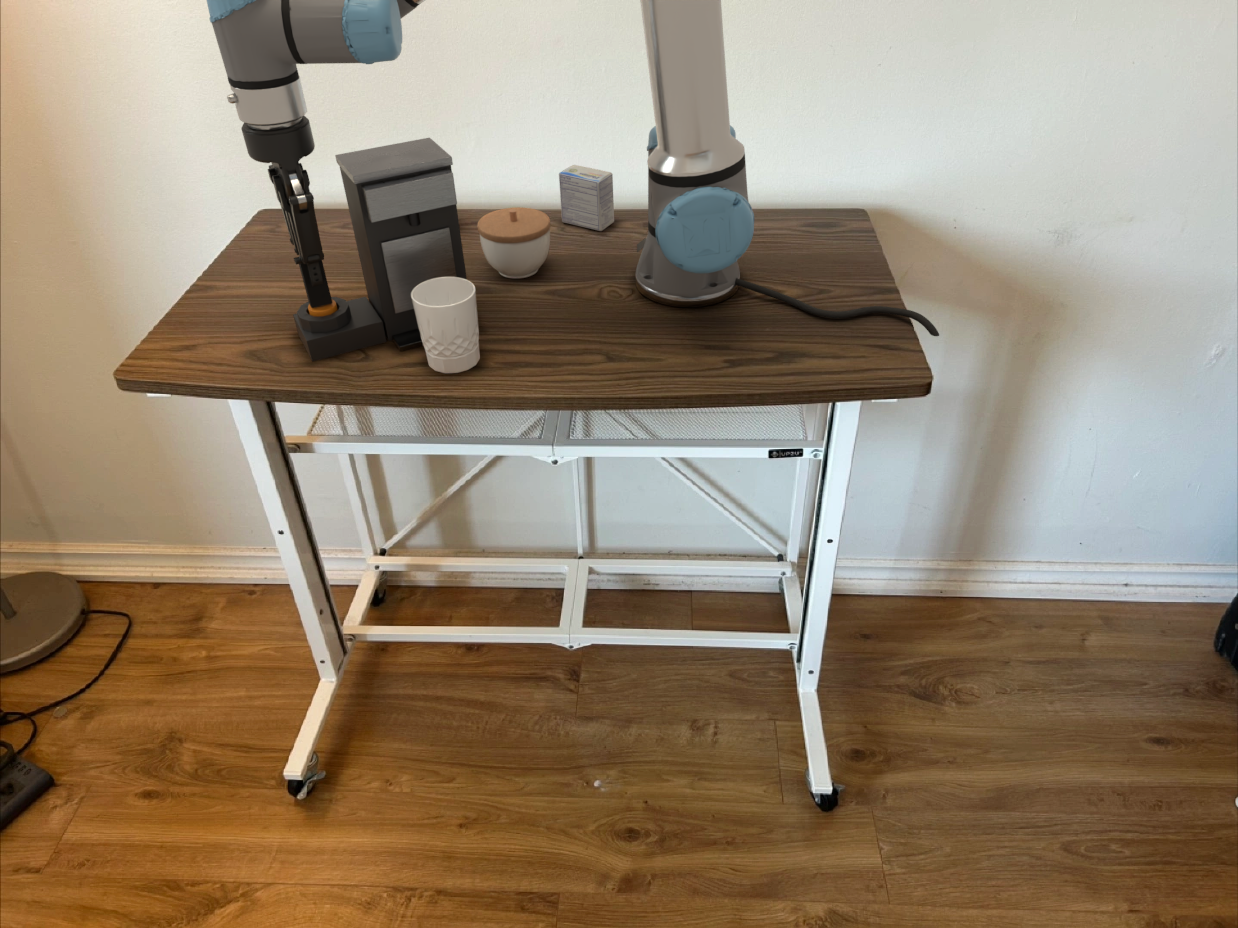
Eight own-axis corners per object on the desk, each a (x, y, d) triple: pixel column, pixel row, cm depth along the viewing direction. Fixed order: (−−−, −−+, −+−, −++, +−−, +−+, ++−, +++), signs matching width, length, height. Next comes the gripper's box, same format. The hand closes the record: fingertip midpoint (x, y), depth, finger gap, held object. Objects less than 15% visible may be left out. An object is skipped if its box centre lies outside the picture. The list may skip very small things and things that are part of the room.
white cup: (473, 379, 112) (462, 309, 106) (414, 373, 114) (400, 303, 107) (492, 347, 118) (483, 278, 112) (436, 342, 120) (424, 274, 113)
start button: (335, 307, 120) (332, 295, 119) (342, 319, 117) (339, 307, 116) (308, 314, 118) (305, 302, 117) (314, 325, 116) (311, 314, 115)
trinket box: (566, 263, 137) (563, 204, 131) (526, 291, 130) (521, 231, 124) (510, 248, 142) (504, 191, 136) (469, 275, 135) (460, 216, 129)
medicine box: (615, 222, 149) (613, 171, 143) (600, 232, 146) (598, 181, 140) (576, 213, 152) (573, 163, 147) (561, 223, 149) (557, 172, 144)
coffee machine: (370, 315, 126) (334, 154, 111) (453, 294, 130) (429, 137, 116) (395, 353, 117) (360, 185, 103) (482, 329, 122) (461, 164, 108)
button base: (370, 316, 125) (363, 284, 122) (386, 342, 120) (379, 308, 117) (298, 334, 122) (289, 302, 119) (312, 362, 116) (303, 328, 113)
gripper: (230, 109, 105) (281, 289, 120) (251, 141, 96) (303, 332, 111) (294, 99, 108) (336, 276, 122) (320, 129, 99) (362, 317, 113)
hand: (320, 303), depth 117 cm, fingers closed
